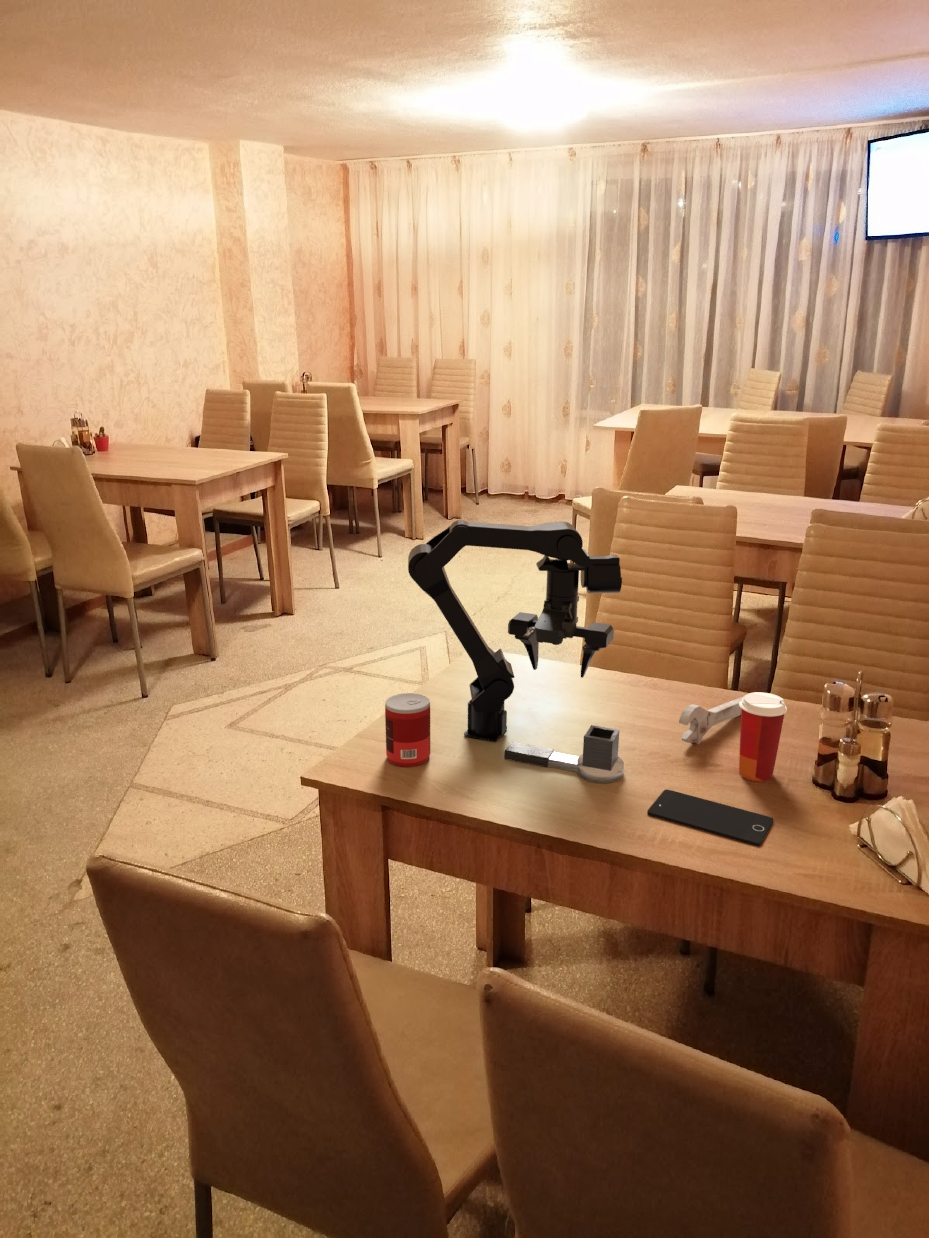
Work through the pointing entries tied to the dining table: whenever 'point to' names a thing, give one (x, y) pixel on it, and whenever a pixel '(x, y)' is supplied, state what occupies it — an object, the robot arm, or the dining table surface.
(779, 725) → the paper cup
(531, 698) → the dining table surface
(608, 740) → the socket
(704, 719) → the wrench
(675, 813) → the cell phone
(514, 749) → the ratchet
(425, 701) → the canned food
